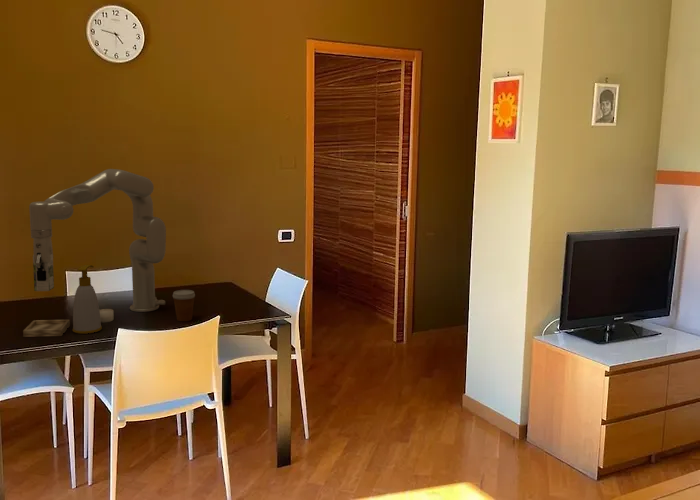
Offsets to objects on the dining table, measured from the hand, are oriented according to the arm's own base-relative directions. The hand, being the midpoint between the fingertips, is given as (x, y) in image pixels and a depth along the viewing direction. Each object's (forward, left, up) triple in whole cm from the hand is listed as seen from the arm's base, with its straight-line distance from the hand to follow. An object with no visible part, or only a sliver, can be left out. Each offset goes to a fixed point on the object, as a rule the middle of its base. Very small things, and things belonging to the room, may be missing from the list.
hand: (44, 278), depth 267 cm
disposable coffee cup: (-53, -12, -22) cm, 58 cm away
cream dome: (-20, -14, -22) cm, 32 cm away
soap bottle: (-15, 0, -22) cm, 27 cm away
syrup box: (0, 0, -5) cm, 5 cm away
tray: (0, 0, -22) cm, 22 cm away
